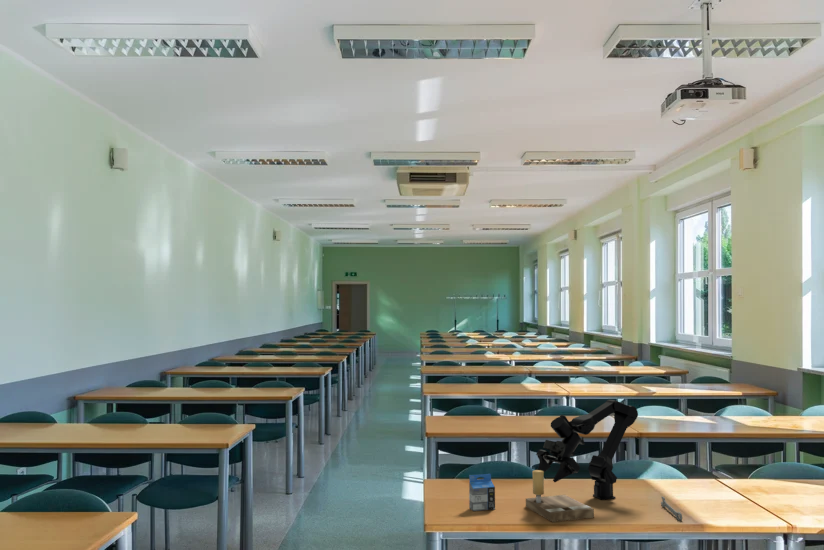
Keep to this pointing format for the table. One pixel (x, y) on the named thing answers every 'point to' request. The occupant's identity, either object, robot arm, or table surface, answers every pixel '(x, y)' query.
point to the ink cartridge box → (481, 493)
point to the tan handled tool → (538, 484)
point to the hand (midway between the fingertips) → (545, 478)
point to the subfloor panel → (560, 508)
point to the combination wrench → (671, 509)
